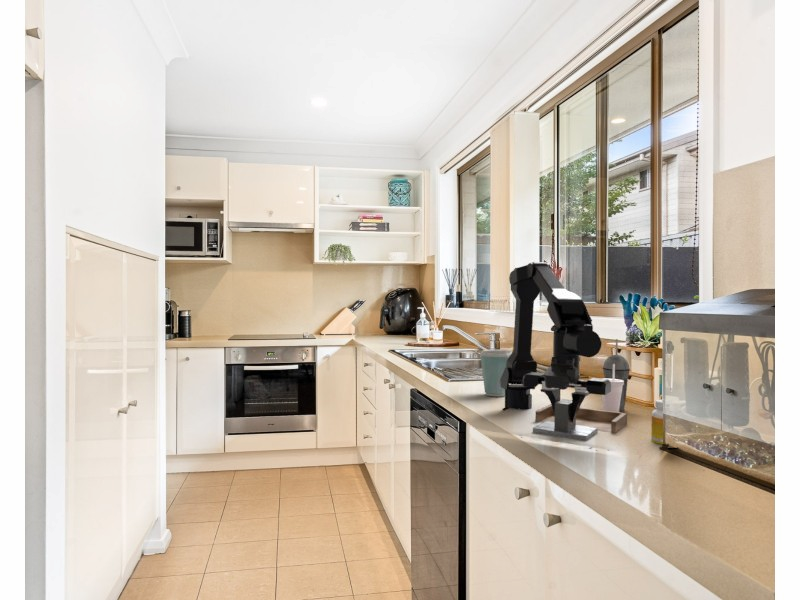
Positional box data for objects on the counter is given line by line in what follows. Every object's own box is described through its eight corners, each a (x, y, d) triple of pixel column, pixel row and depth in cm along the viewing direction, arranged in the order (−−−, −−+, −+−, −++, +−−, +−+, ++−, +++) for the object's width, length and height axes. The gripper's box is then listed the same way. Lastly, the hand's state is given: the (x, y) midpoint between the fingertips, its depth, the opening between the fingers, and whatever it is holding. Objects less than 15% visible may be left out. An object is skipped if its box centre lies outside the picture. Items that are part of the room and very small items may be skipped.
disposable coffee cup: (473, 395, 177) (474, 348, 176) (487, 391, 186) (487, 346, 186) (505, 399, 171) (506, 351, 171) (517, 394, 180) (518, 348, 180)
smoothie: (625, 419, 145) (626, 365, 145) (600, 417, 146) (600, 364, 146) (621, 414, 151) (621, 363, 151) (596, 412, 153) (597, 362, 152)
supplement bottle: (667, 451, 115) (668, 404, 115) (645, 444, 120) (646, 400, 120) (684, 448, 117) (685, 402, 117) (662, 441, 122) (662, 398, 122)
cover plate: (532, 433, 125) (533, 401, 125) (546, 425, 133) (546, 395, 133) (586, 441, 119) (586, 408, 119) (597, 433, 126) (597, 401, 126)
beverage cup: (601, 410, 156) (602, 339, 155) (602, 405, 162) (603, 338, 162) (629, 412, 153) (630, 340, 153) (629, 408, 160) (630, 339, 159)
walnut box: (535, 425, 137) (535, 411, 136) (550, 417, 146) (551, 404, 146) (615, 437, 126) (615, 421, 126) (626, 427, 135) (626, 413, 135)
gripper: (513, 352, 124) (512, 421, 124) (599, 358, 114) (598, 434, 114) (531, 348, 133) (530, 413, 133) (612, 354, 123) (611, 424, 123)
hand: (565, 420), depth 126 cm, fingers closed on cover plate, 3 cm apart
